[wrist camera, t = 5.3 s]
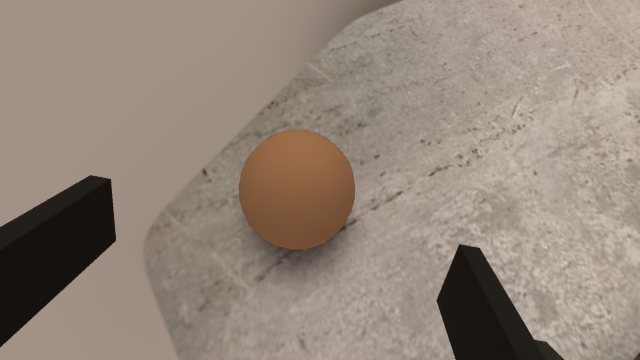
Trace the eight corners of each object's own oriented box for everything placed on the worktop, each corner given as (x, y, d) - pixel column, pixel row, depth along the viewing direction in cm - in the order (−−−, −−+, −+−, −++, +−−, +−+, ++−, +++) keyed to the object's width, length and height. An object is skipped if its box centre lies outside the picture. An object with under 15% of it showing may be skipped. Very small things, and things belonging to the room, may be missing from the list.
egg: (320, 152, 25) (332, 81, 17) (361, 234, 23) (394, 195, 15) (234, 185, 24) (205, 124, 16) (269, 274, 22) (255, 255, 14)
